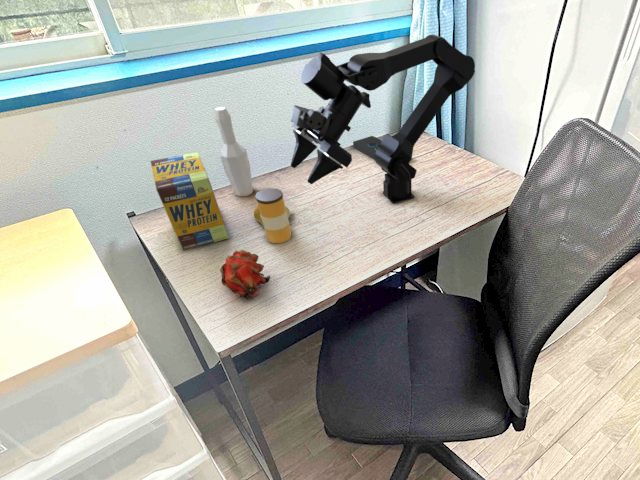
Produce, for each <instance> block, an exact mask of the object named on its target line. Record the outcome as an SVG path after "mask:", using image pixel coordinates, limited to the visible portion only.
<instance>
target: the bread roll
mask: <svg viewBox="0 0 640 480" xmlns="http://www.w3.org/2000/svg"><path fill="white" fill-rule="evenodd" d="M285 208H286V212H287V216H288V220H289V219H290V217H291V212H290V211H291V210H290V208H289V207H288V206H286V205H285ZM253 218H254V219H255V220H256V221H257V222H259V224H260V225H262V226H263V222H262V218H261V215H260V210H259V206H258V204H257V205H256V206H255V207H254V210H253Z"/></svg>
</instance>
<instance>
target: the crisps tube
mask: <svg viewBox="0 0 640 480" xmlns="http://www.w3.org/2000/svg"><path fill="white" fill-rule="evenodd" d="M255 200H256V203H257V205H258V206H259V210H260V215H261V218H262V222H263V225H262V226H263V229H264V232H265V236H266V238H267V241H268V243H272V244H283V243H285V242H287V241H289V240H290V239H291V238H292V231H291V227H290V222H289V219H288V216H287V212H286V208H285V206H286V204H285V200H284V192H283V191H282V190H281V189H279V188H277V187H270V188H264V189H262V190H259V191H258V192H257V193H256V194H255Z"/></svg>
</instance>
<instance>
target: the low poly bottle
mask: <svg viewBox="0 0 640 480" xmlns="http://www.w3.org/2000/svg"><path fill="white" fill-rule="evenodd" d="M214 115H215V117H214V119H215V122H216V124H217V126H218V129H219V132H220V136H221V138H222V141H223V146H222V148H221V151H220V154H219V157H220V160H221V164H222V167H223V170H224V173H225V175H226V177H227V179H228V181H229V183H230V186H231V188H232V191H233V193H234V194H235V196H238V197H248V196H250V195H252V194H253V192H254V186H253V185H254V184H253V178H252V177H253V176H252V171H251V164H250V159H249V156H248V152H247V149H246V148H245V147H244V146H243V145H242V144H241V143H239V142H238V141H237V138H236V136H235V132H234V128H233V122H232V117H231V114H230V112H229V111H228V110H227V108H226V107H224V106H218V107H216V108H215V109H214Z"/></svg>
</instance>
